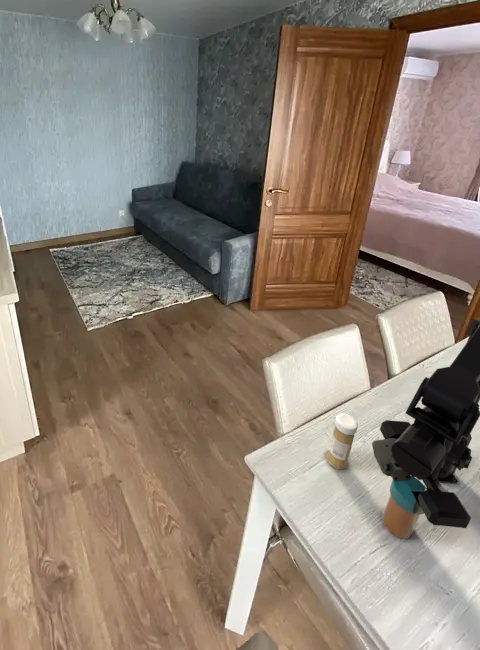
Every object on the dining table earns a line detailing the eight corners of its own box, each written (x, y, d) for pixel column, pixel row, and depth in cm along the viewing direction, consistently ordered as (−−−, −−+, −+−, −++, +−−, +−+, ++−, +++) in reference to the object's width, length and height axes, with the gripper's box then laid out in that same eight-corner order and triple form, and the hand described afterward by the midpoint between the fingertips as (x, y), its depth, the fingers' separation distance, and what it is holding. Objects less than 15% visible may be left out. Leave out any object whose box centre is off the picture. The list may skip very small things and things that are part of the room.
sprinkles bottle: (350, 463, 83) (362, 423, 78) (339, 473, 81) (350, 432, 76) (333, 448, 87) (343, 409, 82) (322, 458, 84) (332, 418, 79)
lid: (384, 480, 71) (387, 471, 70) (414, 483, 71) (418, 474, 70) (399, 512, 65) (403, 503, 64) (432, 516, 65) (436, 506, 64)
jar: (403, 511, 73) (416, 478, 69) (416, 540, 69) (432, 506, 65) (377, 509, 74) (389, 476, 70) (389, 537, 69) (403, 503, 65)
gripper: (362, 396, 71) (347, 449, 77) (412, 488, 54) (387, 547, 60) (419, 400, 70) (399, 453, 76) (487, 495, 53) (455, 555, 59)
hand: (407, 496), depth 68 cm, fingers closed on lid, 6 cm apart
